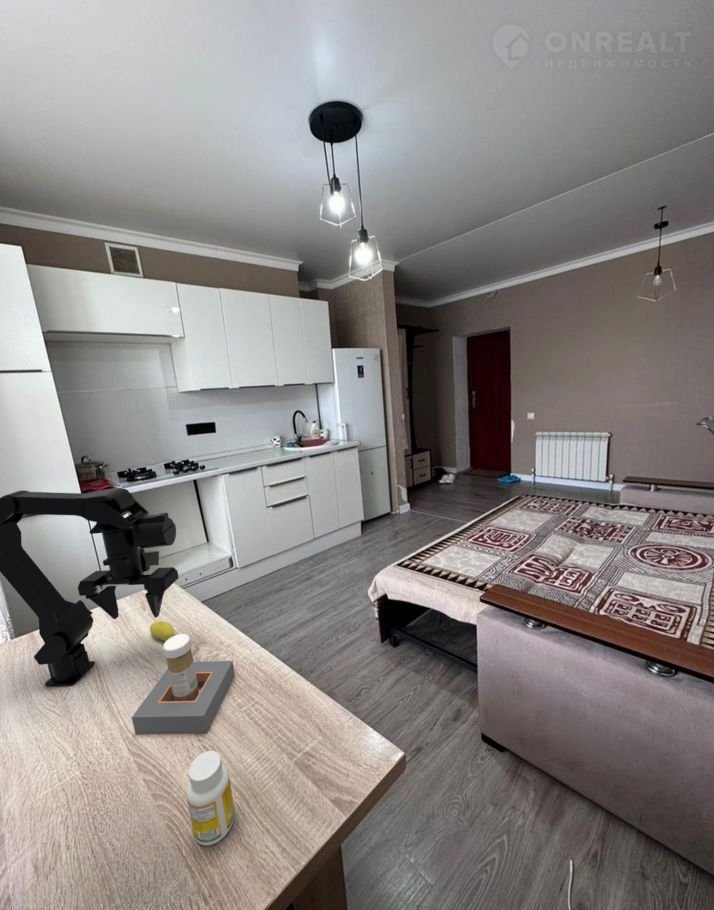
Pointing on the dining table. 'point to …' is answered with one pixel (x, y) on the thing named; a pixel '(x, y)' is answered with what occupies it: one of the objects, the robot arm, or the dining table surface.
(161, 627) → the lemon
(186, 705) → the collar block
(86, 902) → the dining table surface
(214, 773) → the supplement bottle
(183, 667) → the sprinkles bottle
